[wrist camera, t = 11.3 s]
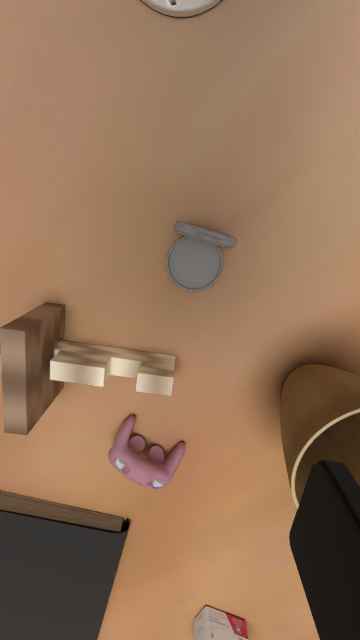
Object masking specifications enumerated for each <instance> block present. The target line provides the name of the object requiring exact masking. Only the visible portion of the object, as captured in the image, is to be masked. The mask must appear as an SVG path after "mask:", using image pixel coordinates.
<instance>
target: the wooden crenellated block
mask: <svg viewBox="0 0 360 640" xmlns="http://www.w3.org/2000/svg"><path fill="white" fill-rule="evenodd" d="M174 367H175V356H172V355H165V354H158V353H151V352H143V351H136V350H129V349H121V348H114V347H107V346H100V345H92V344H85V343H78V342H71V341H63V340H58V341H57V342H56V343H55V344H54V357H53V358H52V359H51V360H50V380H57V381H64V382H72V383H79V384H86V385H94V386H101V387H103V386H104V384H105V383H106V381H107V379H108V377H109V375H116V376H123V377H131V378H137V385H136V391H138V392H145V393H153V394H160V395H168V396H171V391H172V384H173V378H174ZM0 373H2V365H1V343H0Z"/></svg>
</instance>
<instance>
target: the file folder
mask: <svg viewBox="0 0 360 640" xmlns="http://www.w3.org/2000/svg"><path fill="white" fill-rule="evenodd" d="M122 521H123V517H120V516H115V515H108V514H104V513H99V512H95V511H90V510H86V509H82V508H77V507H73V506H68V505H64V504H60V503H56V502H51V501H47V500H43V499H38V498H33V497H28V496H24V495H19V494H14V493H9V492H4V491H0V640H97V638H98V634H99V631H100V627H101V624H102V620H103V617H104V613H105V610H106V606H107V603H108V599H109V596H110V592H111V588H112V585H113V581H114V578H115V574H116V571H117V567H118V564H119V560H120V557H121V553H122V550H123V546H124V543H125V539H126V536H127V532H128V529H129V525H130V522H129V520H128V518H127V520H126V523H125V527H124V531H123V532H120V531H121V526H122Z"/></svg>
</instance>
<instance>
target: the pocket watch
mask: <svg viewBox="0 0 360 640" xmlns="http://www.w3.org/2000/svg"><path fill="white" fill-rule="evenodd" d="M174 229H175V230H176V232H177V233H179V234H182V235H185V237H182V238H181V239H179V240H178V241H176V242H175V244H174V245H173V246H172V247H171V249H170V251H169V253H168V256H167V270H168V273H169V276H170V278H171V279H172V281H173V282H174V283H175V284H176V285H177V286H179V287H180V288H182V289H185V290H187V291H201V290H204V289H207V288H209V287H210V286H212V285H213V284H214V283H215V282H216V281H217V279H218V278H219V276H220V274H221V271H222V267H223V258H222V254H221V251H220V250H219V248H218V246H221V247H225V248H232V247H235V246H236V239H235V238H233V237H231V236H228V235H225V234H222V233H219V232H216V231H212V230H209V229H206V228H202V227H199V226H195V225H192V224H188V223H184V222H180V221H176V224H175V225H174ZM217 245H218V246H217Z"/></svg>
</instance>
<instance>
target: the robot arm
mask: <svg viewBox="0 0 360 640" xmlns="http://www.w3.org/2000/svg"><path fill="white" fill-rule="evenodd" d="M142 1H143V2H144V3H146V4H147V5H148V6H150V7H151V8H152V9H154V10H156V11H158V12H161V13H163V14H166V15H170V16H175V17H189V16H193V15H196V14H200V13H202V12H204V11H206V10H208V9H210V8H212V7H213V6H215V5H216V4H217V3H218V2H220V1H221V0H142ZM173 3H175V4H176V5H172V4H173ZM289 539H290V546H291V550H292V553H293V556H294V559H295V562H296V566H297V569H298V572H299V575H300V578H301V581H302V584H303V588H304V591H305V594H306V597H307V600H308V603H309V606H310V610H311V613H312V616H313V619H314V622H315V625H316V628H317V632H318V635H319V638H320V640H360V486H359V485H358V483H357V482H356V480H355V479H354V477H353V476H352V474H351V472H350V471H349V469H348V468H347V466H346V465H345V464H344V463H343V462H340V461H332V460H325V459H321V460H319V461H318V463H317V464H313V465H312V468H311V470H310V473H309V476H308V479H307V482H306V485H305V488H304V491H303V494H302V497H301V500H300V503H299V506H298V509H297V512H296V515H295V518H294V521H293V524H292V527H291V530H290V536H289Z"/></svg>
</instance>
